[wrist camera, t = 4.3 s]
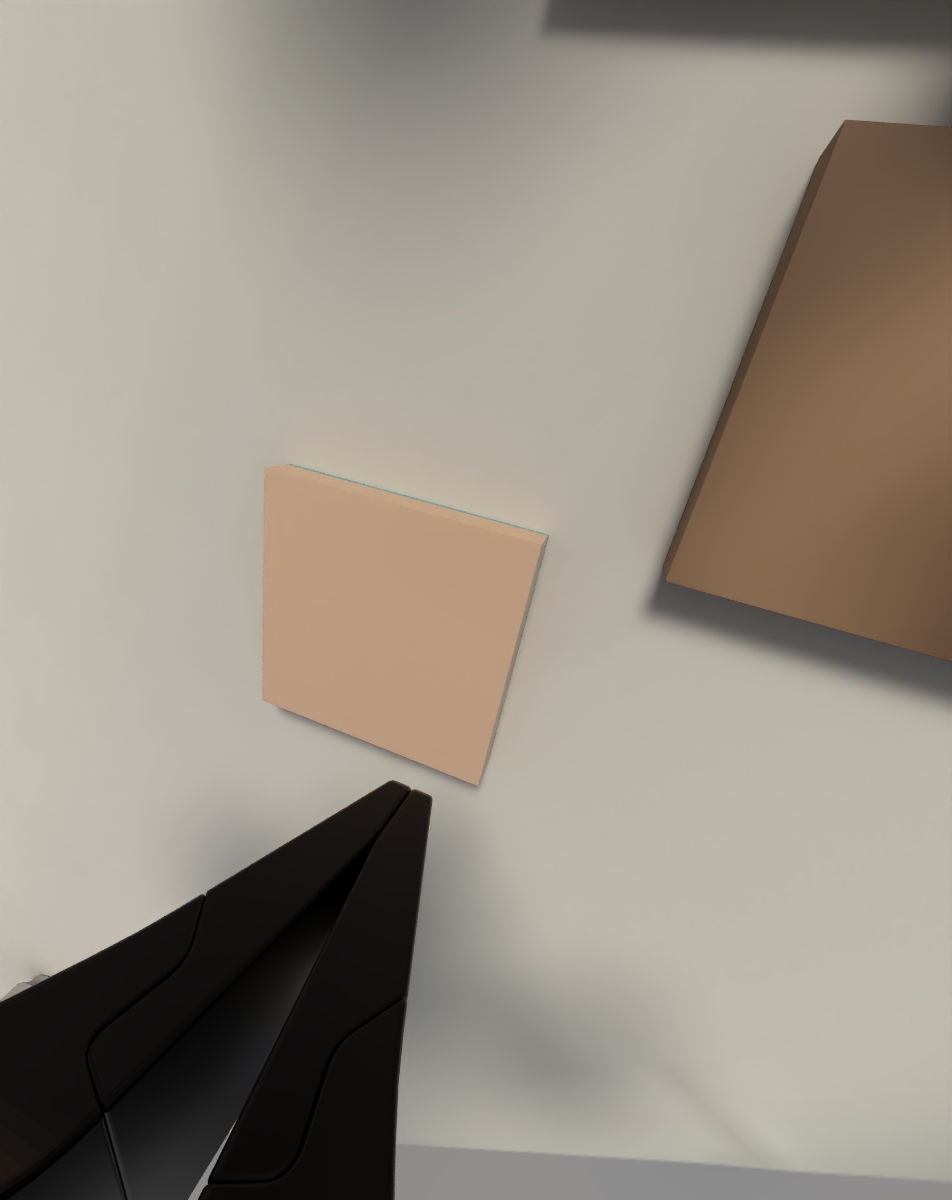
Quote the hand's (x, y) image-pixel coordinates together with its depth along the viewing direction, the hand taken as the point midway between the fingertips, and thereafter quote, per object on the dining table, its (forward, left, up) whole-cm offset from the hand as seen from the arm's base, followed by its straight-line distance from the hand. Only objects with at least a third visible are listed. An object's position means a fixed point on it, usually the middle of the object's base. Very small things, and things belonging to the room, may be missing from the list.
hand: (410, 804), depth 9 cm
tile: (-1, 0, -6) cm, 6 cm away
